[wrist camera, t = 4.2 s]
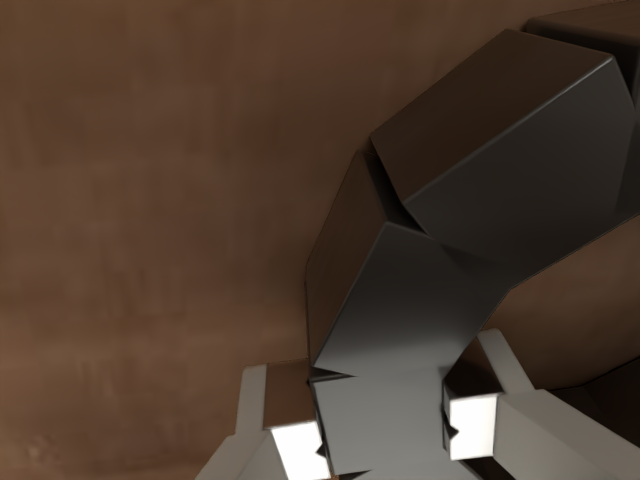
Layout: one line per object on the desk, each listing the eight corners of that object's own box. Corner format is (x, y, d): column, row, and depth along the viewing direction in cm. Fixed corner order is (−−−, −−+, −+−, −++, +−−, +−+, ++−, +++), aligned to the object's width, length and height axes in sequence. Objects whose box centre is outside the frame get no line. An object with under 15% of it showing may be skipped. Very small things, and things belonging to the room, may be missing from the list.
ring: (345, 468, 14) (356, 578, 12) (257, 65, 8) (239, 110, 5) (736, 411, 14) (838, 511, 11) (987, -65, 7) (1361, -85, 5)
